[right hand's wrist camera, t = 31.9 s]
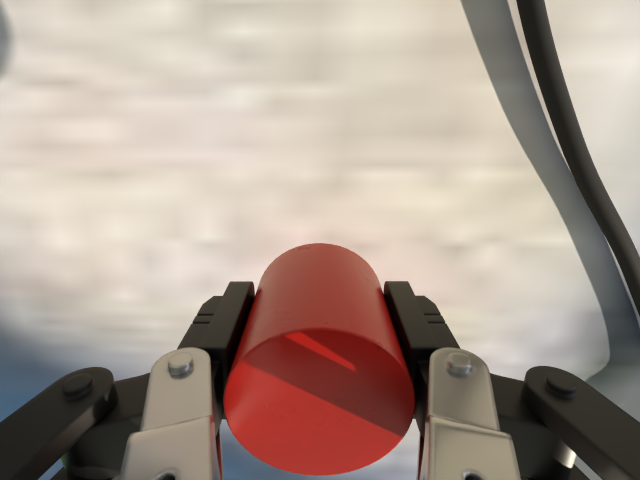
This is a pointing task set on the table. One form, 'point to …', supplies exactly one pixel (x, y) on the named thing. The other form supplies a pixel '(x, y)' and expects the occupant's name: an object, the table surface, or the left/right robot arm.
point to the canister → (319, 367)
